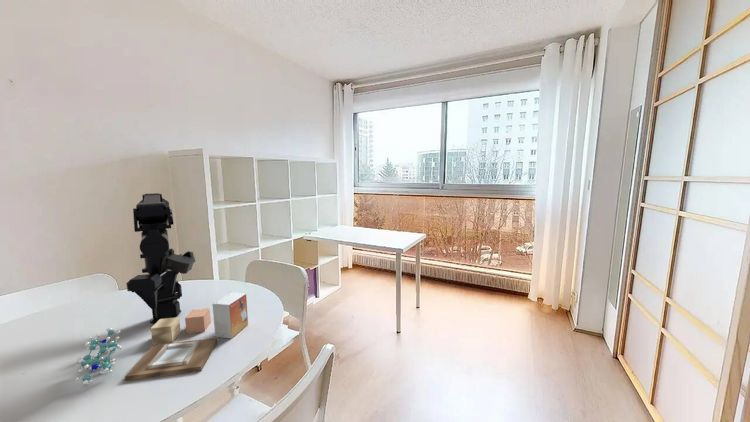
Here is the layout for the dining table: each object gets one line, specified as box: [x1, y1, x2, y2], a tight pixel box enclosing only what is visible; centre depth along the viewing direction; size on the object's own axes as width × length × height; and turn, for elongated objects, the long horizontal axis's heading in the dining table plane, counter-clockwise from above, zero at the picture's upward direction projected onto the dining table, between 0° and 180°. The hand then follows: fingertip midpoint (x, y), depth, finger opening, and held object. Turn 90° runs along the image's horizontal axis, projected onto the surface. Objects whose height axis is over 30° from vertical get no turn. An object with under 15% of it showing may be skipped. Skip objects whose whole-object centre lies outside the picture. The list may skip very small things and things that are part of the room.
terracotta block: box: [184, 307, 212, 334], centre depth 87 cm, size 5×5×5 cm
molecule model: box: [74, 327, 123, 385], centre depth 70 cm, size 8×18×7 cm, turn 36°
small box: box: [212, 292, 249, 339], centre depth 85 cm, size 8×6×10 cm
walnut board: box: [124, 337, 219, 382], centre depth 73 cm, size 16×12×2 cm
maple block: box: [150, 316, 182, 345], centre depth 82 cm, size 5×5×5 cm
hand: (162, 300), depth 80 cm, fingers open, 9 cm apart
